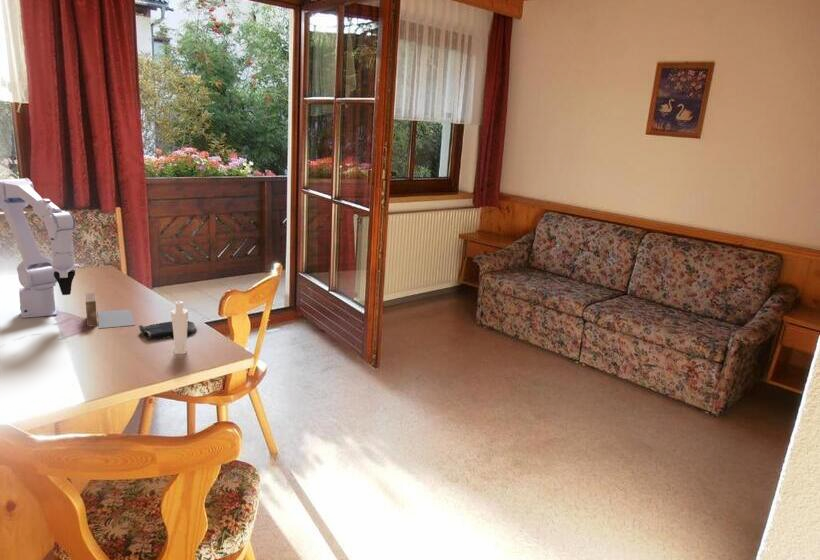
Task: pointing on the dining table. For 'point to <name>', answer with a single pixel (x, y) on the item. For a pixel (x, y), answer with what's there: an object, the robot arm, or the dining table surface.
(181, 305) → the perfume bottle
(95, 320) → the walnut slab
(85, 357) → the dining table surface
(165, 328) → the electronic device
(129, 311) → the mat
